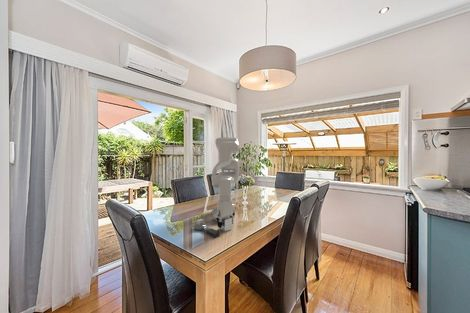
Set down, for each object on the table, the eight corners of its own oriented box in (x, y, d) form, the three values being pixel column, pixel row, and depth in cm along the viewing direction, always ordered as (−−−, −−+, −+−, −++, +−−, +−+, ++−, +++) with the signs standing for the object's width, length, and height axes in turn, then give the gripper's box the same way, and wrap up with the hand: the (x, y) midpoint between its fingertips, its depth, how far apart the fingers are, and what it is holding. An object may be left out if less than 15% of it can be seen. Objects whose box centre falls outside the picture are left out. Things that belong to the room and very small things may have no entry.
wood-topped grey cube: (225, 226, 131) (225, 215, 131) (232, 229, 127) (232, 217, 127) (218, 228, 127) (218, 217, 127) (224, 231, 123) (224, 220, 123)
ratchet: (222, 235, 118) (222, 225, 118) (211, 239, 113) (211, 229, 112) (202, 225, 133) (202, 217, 133) (191, 228, 128) (191, 219, 128)
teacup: (223, 223, 137) (223, 211, 136) (209, 221, 140) (209, 210, 140) (231, 217, 150) (231, 206, 149) (217, 215, 153) (217, 205, 153)
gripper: (231, 194, 135) (231, 220, 136) (210, 199, 123) (210, 227, 124) (239, 196, 130) (239, 223, 130) (217, 201, 118) (218, 231, 118)
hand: (225, 225), depth 127 cm, fingers open, 8 cm apart
